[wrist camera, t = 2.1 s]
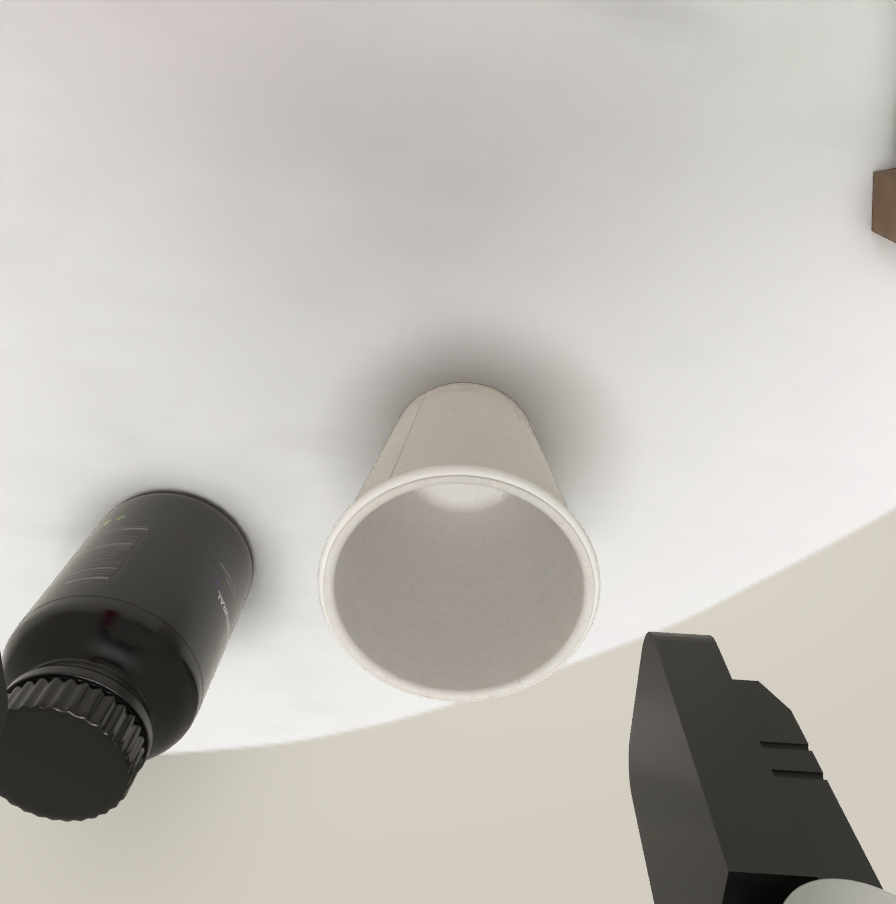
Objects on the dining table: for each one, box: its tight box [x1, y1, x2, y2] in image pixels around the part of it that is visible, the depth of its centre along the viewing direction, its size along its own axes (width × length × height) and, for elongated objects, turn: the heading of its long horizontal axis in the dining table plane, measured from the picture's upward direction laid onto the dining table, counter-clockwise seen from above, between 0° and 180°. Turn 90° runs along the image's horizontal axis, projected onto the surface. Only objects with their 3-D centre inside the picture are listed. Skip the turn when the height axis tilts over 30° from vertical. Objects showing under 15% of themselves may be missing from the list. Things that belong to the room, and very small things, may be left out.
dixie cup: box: [318, 383, 600, 702], centre depth 30 cm, size 8×8×10 cm
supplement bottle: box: [0, 493, 252, 822], centre depth 32 cm, size 7×7×12 cm
